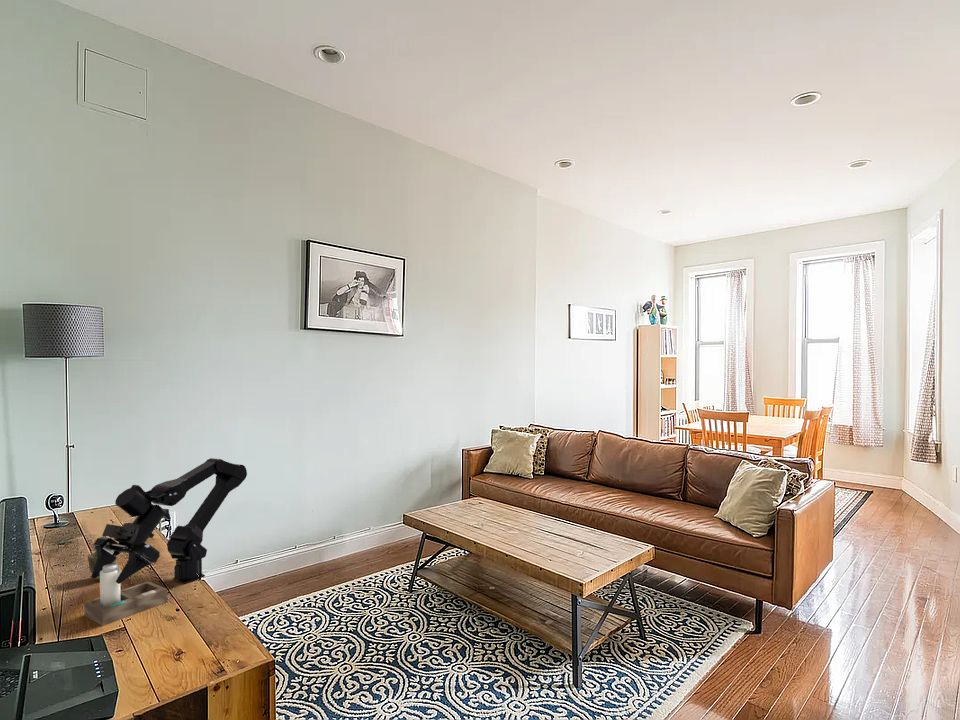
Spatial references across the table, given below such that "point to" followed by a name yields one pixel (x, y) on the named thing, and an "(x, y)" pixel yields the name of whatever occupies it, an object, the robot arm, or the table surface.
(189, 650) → the table surface
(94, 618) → the socket block
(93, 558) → the cup
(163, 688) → the table surface
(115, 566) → the plug
